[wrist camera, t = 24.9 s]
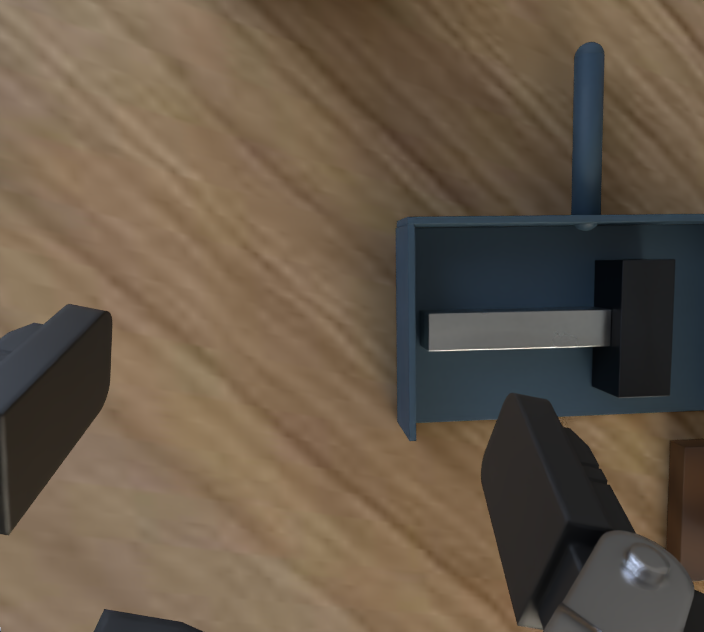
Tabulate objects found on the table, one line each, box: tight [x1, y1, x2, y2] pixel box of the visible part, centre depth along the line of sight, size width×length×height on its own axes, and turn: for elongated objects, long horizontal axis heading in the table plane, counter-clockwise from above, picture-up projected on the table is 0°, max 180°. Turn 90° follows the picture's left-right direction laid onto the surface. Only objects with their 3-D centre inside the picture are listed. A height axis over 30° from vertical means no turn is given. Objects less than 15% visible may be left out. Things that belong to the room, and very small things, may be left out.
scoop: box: [396, 42, 704, 441], centre depth 35 cm, size 22×22×4 cm
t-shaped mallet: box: [420, 259, 676, 398], centre depth 35 cm, size 14×8×3 cm, turn 91°
